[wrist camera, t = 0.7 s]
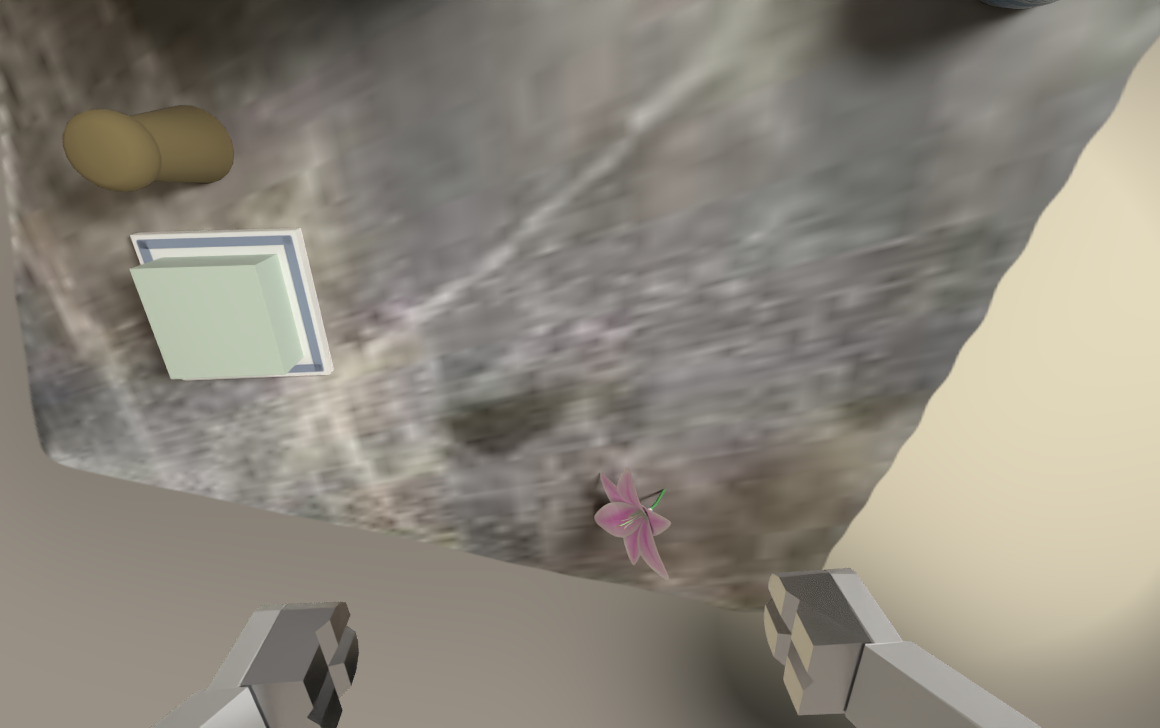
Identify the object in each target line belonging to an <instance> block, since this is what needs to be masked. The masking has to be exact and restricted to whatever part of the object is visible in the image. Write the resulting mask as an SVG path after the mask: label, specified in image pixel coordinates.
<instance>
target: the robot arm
mask: <svg viewBox="0 0 1160 728" xmlns="http://www.w3.org/2000/svg"><path fill="white" fill-rule="evenodd" d="M768 589H769V591H770V593H771V596H772V599H771V600H770V601H769V602H768V603H766V604H765V612H764V623H765V632H766V636H767V640H768V643H769V646H770V648H771V651H772V654H773V656H774V657H775V658H776V659H777V660H778V661H780V662H781V663H782V664H783V665H784V666H785V673H784V678H783V680H784V683H785V685H786V687H787V690H788V692H789V695H790V697H791V699H792V702H793V704H794V707H795V709H796V711H797V714H798V715H812V714H813V715H814V714H835V713H846V714H845V716H846V717H847V718H848V719H849V720H850V721H851V722H852V723H853V724H854V725H855V726H856V727H857V728H1042V727H1040V726H1039V725H1037V724H1036V723H1034V722H1033V721H1031V720H1030V719H1028V718H1027V717H1025V716H1023V715H1022V714H1021V713H1019V712H1017V711H1016V710H1015V709H1013V708H1012V707H1010V706H1008V705H1007V704H1005V703H1004V702H1002V701H1001V700H999V699H998V698H996V697H995V696H993V695H992V694H990V693H989V692H987V691H986V690H984V689H983V688H981V687H980V686H978V685H977V684H975V683H973V682H972V681H971V680H969V679H968V678H966V677H965V676H963V675H962V674H960V673H959V672H957V671H956V670H954V669H952V668H951V667H950V666H948V665H946V664H945V663H943V662H942V661H940V660H939V659H937V658H936V657H934V656H933V655H931V654H930V653H928V652H927V651H925V650H924V649H922V648H921V647H919V646H918V645H916V644H915V643H913V642H911V641H902V639H901V638H900V636H899V635H898V633H897V632H896V630H895V629H894V627H893V626H892V624H891V623H890V622H889V620H888V619H887V617H886V616H885V614H884V613H883V611H882V610H881V608H880V607H879V606H878V604H877V602H876V601H875V600H874V598H873V597H872V595H871V594H870V592H869V591H868V589H867V588H866V586H865V585H864V583H863V582H862V580H861V579H860V578H859V576H858V575H857V573H856V572H855V571H854V570H852V569H851V568H844V569H828V570H811V571H798V572H785V573H773V574H772V576H771V577H770V579H769V585H768ZM349 617H350V613H349V610H348V607H347V604H346V603H345V602H324V603H300V604H299V603H298V604H281V605H261V606H260V607H259V608H258V609H256V610H255V611H254V612H253V613H252V615H251V616H250V618H249V620H248V621H247V623H246V625H245V626H244V628H243V630H242V631H241V633H240V635H239V637H238V638H237V640H236V641H235V643H234V645H233V647H232V648H231V650H230V652H229V653H228V655H227V656H226V658H225V660H224V662H223V663H222V665H221V667H220V668H219V670H218V671H217V673H216V675H215V676H214V678H213V680H212V681H211V683H210V685H209V687H208V688H207V689H204V690H197V691H196V692H195V693H194V694H193V695H191V696H190V697H189V698H187V699H186V700H185V701H184V702H182V703H181V704H180V705H179V706H177V707H176V708H175V709H173V710H172V711H171V712H169V713H168V714H167V715H166V716H164V717H163V718H162V719H161V720H159V721H158V722H157V723H156V724H154V725H153V726H152V727H151V728H337V725H338V722H339V720H340V717H341V714H342V707H341V704H340V701H339V698H340V697H341V696H342V695H343V694H344V693H345V692H346V691H347V690H348V689H349V688H350V687H351V685H352V682H353V679H354V676H355V673H356V669H357V662H358V656H359V648H358V639H357V636H356V633H355V631H354V630H352V629H351V628H350V627H348V626H347V622H348V620H349Z"/></svg>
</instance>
